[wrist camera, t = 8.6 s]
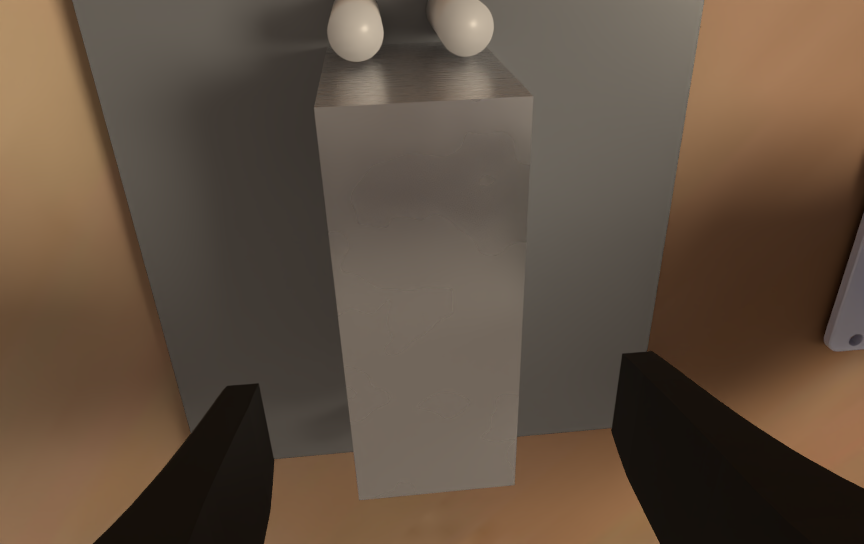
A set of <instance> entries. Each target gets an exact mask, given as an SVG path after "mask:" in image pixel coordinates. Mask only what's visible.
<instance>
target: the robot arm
mask: <svg viewBox="0 0 864 544" xmlns="http://www.w3.org/2000/svg"><path fill="white" fill-rule="evenodd" d="M852 336H853V337H852ZM851 337H852V338H851ZM850 338H851V339H850ZM824 343H825V345H826V346H828V347H829V348H830V349H831V350H833V351H850V350H861V349H864V213H863V216H862V220H861V223H860V226H859V229H858V232H857V235H856V238H855V241H854V245H853V248H852V251H851V254H850V257H849V260H848V263H847V266H846V269H845V273H844V276H843V279H842V282H841V285H840V288H839V291H838V294H837V298H836V301H835V304H834V307H833V310H832V313H831V316H830V319H829V322H828V326H827V329H826V332H825V335H824ZM611 431H612V434H613V437H614V441H615V444H616V447H617V450H618V453H619V456H620V459H621V461H622V464H623V467H624V470H625V473H626V475H627V478H628V480H629V482H630V484H631V486H632V488H633V490H634V492H635V494H636V496H637V498H638V500H639V502H640V504H641V506H642V508H643V511H644V513H645V515H646V517H647V519H648V521H649V523H650V525H651V527H652V529H653V531H654V532H655V534H656V536H657V538H658V540H659V542H660V544H864V488H862V487H860V486H858V485H856V484H854V483H852V482H850V481H848V480H846V479H844V478H842V477H840V476H838V475H836V474H835V473H833V472H831V471H829V470H827V469H826V468H824V467H822V466H820V465H818V464H817V463H815V462H813V461H811V460H809V459H808V458H806V457H804V456H802V455H801V454H799V453H797V452H796V451H794V450H792V449H791V448H789V447H787V446H786V445H784V444H783V443H781V442H780V441H778V440H776V439H775V438H773V437H772V436H770V435H769V434H767V433H765V432H764V431H762V430H761V429H759V428H758V427H756V426H755V425H753V424H752V423H750V422H749V421H747V420H746V419H744V418H743V417H741V416H740V415H739V414H737V413H736V412H734V411H733V410H731V409H730V408H729V407H727V406H726V405H724V404H723V403H722V402H720V401H719V400H718V399H716V398H715V397H713V396H712V395H711V394H709V393H708V392H707V391H705V390H704V389H703V388H701V387H700V386H699V385H697V384H696V383H695V382H693V381H692V380H691V379H689V378H688V377H687V376H685V375H684V374H683V373H681V372H680V371H679V370H677V369H676V368H675V367H673V366H672V365H671V364H669V363H668V362H666V361H665V360H664V359H662V358H661V357H660V356H658V355H657V354H655V353H654V352H652V351H648V352H635V353H623V354H622V359H621V366H620V373H619V380H618V387H617V394H616V401H615V409H614V416H613V423H612V430H611ZM273 472H274V457H273V452H272V447H271V442H270V437H269V432H268V427H267V422H266V417H265V412H264V407H263V402H262V397H261V391H260V386H259V383H256V384H243V385H231V386H226V387H225V388H224V389H223V391H222V392H221V393H220V395H219V396H218V397H217V399H216V400H215V401H214V403H213V404H212V406H211V407H210V408H209V410H208V411H207V413H206V414H205V415H204V417H203V418H202V419H201V421H200V422H199V423H198V425H197V426H196V427H195V429H194V430H193V431H192V433H191V434H190V435H189V437H188V438H187V439H186V441H185V442H184V443H183V444H182V446H181V447H180V448H179V449H178V451H177V452H176V453H175V454H174V456H173V457H172V458H171V460H170V461H169V462H168V463H167V465H166V466H165V467H164V468H163V469H162V471H161V472H160V473H159V474H158V475H157V476H156V477H155V479H154V480H153V481H152V482H151V483H150V484H149V485H148V487H147V488H146V489H145V490H144V491H143V492H142V493H141V495H140V496H139V497H138V498H137V499H136V500H135V501H134V503H133V504H132V505H131V506H130V507H129V508H128V509H127V510H126V511H125V512H124V513H123V514H122V515H121V516H120V517H119V518H118V519H117V520H116V522H115V523H114V524H113V525H112V526H111V527H110V528H109V529H108V530H107V531H106V532H104V533H103V534H102V535H101V536H100V537H99V538H98V539H97V540H96V541H95V542H94V543H93V544H264V540H265V535H266V530H267V525H268V520H269V515H270V509H271V498H272V486H273Z"/></svg>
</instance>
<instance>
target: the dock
mask: <svg viewBox="0 0 864 544" xmlns="http://www.w3.org/2000/svg"><path fill="white" fill-rule="evenodd" d="M72 2H73V5H74V9H75V13H76V16H77V20H78V24H79V27H80V31H81V34H82V38H83V42H84V45H85V49H86V53H87V56H88V60H89V64H90V67H91V71H92V75H93V78H94V82H95V85H96V89H97V93H98V96H99V100H100V104H101V107H102V111H103V115H104V118H105V122H106V126H107V129H108V133H109V136H110V140H111V144H112V147H113V151H114V155H115V158H116V162H117V166H118V169H119V173H120V177H121V180H122V184H123V187H124V191H125V195H126V198H127V202H128V206H129V209H130V213H131V217H132V220H133V224H134V228H135V231H136V235H137V238H138V242H139V246H140V249H141V253H142V257H143V260H144V264H145V268H146V271H147V275H148V279H149V282H150V286H151V289H152V293H153V297H154V300H155V304H156V308H157V311H158V315H159V319H160V322H161V326H162V330H163V333H164V337H165V340H166V344H167V348H168V351H169V355H170V359H171V362H172V366H173V370H174V373H175V377H176V381H177V384H178V388H179V391H180V395H181V399H182V402H183V406H184V410H185V413H186V417H187V421H188V424H189V428H190V432H191V433H192V431H193V430H194V429H195V427H196V426H197V425H198V423H199V422H200V421H201V419H202V418H203V417H204V415H205V414H206V413H207V411H208V410H209V408H210V407H211V406H212V404H213V403H214V401H215V400H216V399H217V397H218V396H219V395H220V393H221V392H222V391H223V389H224V388H225V387H226V386H231V385H243V384H256V383H259V386H260V391H261V397H262V402H263V407H264V412H265V417H266V422H267V427H268V432H269V437H270V442H271V447H272V452H273V457H274V459H281V458H292V457H303V456H314V455H324V454H335V453H346V452H354V451H353V442H352V434H351V425H350V416H349V408H348V399H347V390H346V381H345V373H344V364H343V355H342V347H341V338H340V329H339V321H338V312H337V303H336V295H335V286H334V277H333V269H332V260H331V251H330V243H329V234H328V225H327V217H326V208H325V199H324V191H323V182H322V173H321V165H320V156H319V147H318V139H317V130H316V121H315V113H314V105H315V101H316V96H317V91H318V87H319V82H320V78H321V73H322V68H323V64H324V59H325V55H326V50H327V47H332V49H333V50H334V51H335V52H336V53H337V54H338V55H339V56H340V57H342V58H343V59H346V60H348V61H352V62H361V61H365V60H367V59H369V58H371V57H372V56H374V55H375V54H376V53H377V52H378V50H379V49H380V47H381V45H382V44H398V43H420V42H442V43H443V44H444V46H445V47H446V48H447V49H448V50H449V51H450V52H452V53H453V54H455V55H458V56H463V57H467V56H473V55H475V54H478V53H479V52H481V51H482V50H483V49H484V48H486V47H487V48H488V49H489V50H490V51H491V52H492V53H493V54H494V55H495V56H496V57H497V58H498V59H499V60H500V61H501V62H502V64H503V65H504V66H505V67H506V68H507V69H508V70H509V71H510V72H511V73H512V74H513V75H514V76H515V77H516V78H517V79H518V80H519V81H520V83H521V84H522V85H523V86H524V87H525V88H526V89H527V90H528V91H529V92H530V93H531V94H532V95H533V115H532V135H531V156H530V177H529V197H528V218H527V239H526V259H525V280H524V301H523V321H522V342H521V363H520V383H519V404H518V425H517V437H519V436H530V435H541V434H552V433H562V432H573V431H584V430H595V429H606V428H612V423H613V416H614V409H615V401H616V394H617V387H618V380H619V373H620V366H621V359H622V354H623V353H635V352H647V348H648V342H649V336H650V330H651V324H652V317H653V311H654V305H655V299H656V293H657V287H658V281H659V275H660V268H661V262H662V256H663V250H664V244H665V238H666V232H667V226H668V219H669V213H670V207H671V201H672V195H673V189H674V183H675V177H676V170H677V164H678V158H679V152H680V146H681V140H682V134H683V127H684V121H685V115H686V109H687V103H688V97H689V91H690V85H691V78H692V72H693V66H694V60H695V54H696V48H697V42H698V36H699V29H700V23H701V17H702V11H703V5H704V0H72Z"/></svg>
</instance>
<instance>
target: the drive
mask: <svg viewBox="0 0 864 544" xmlns="http://www.w3.org/2000/svg"><path fill="white" fill-rule="evenodd" d="M314 113H315V121H316V130H317V139H318V147H319V156H320V165H321V173H322V182H323V191H324V199H325V208H326V217H327V225H328V234H329V243H330V251H331V260H332V269H333V277H334V286H335V295H336V303H337V312H338V321H339V329H340V338H341V347H342V355H343V364H344V373H345V381H346V390H347V399H348V408H349V416H350V425H351V434H352V442H353V451H354V460H355V468H356V477H357V486H358V494H359V500H367V499H377V498H387V497H397V496H408V495H418V494H428V493H438V492H449V491H459V490H469V489H479V488H490V487H500V486H510V485H515V466H516V445H517V425H518V404H519V383H520V363H521V342H522V321H523V301H524V280H525V259H526V239H527V218H528V197H529V177H530V156H531V135H532V115H533V95H532V94H531V93H530V92H529V91H528V90H527V89H526V88H525V87H524V86H523V85H522V84H521V83H520V81H519V80H518V79H517V78H516V77H515V76H514V75H513V74H512V73H511V72H510V71H509V70H508V69H507V68H506V67H505V66H504V65H503V64H502V62H501V61H500V60H499V59H498V58H497V57H496V56H495V55H494V54H493V53H492V52H491V51H490V50H489V49H488V48H487V47H486V48H484V49H483V50H482V51H481V52H479V53H478V54H475V55H473V56H467V57H463V56H458V55H455V54H453V53H452V52H450V51H449V50H448V49H447V48H446V47H445V46H444V44H443V43H442V42H420V43H398V44H382V45H381V47H380V49H379V50H378V52H377V53H376V54H375V55H374V56H372V57H371V58H369V59H367V60H365V61H361V62H352V61H348V60H346V59H343V58H342V57H340V56H339V55H338V54H337V53H336V52H335V51H334V50H333V49H332V47H327V50H326V55H325V59H324V64H323V68H322V73H321V78H320V82H319V87H318V91H317V96H316V101H315V105H314Z"/></svg>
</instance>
